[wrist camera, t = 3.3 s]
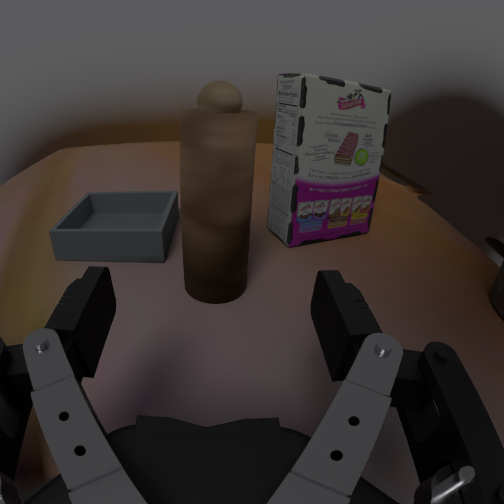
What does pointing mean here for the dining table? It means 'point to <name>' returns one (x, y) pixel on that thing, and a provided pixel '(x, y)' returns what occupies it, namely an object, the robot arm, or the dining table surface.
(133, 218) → the tray
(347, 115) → the candy bar box
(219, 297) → the pepper mill
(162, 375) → the dining table surface
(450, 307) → the dining table surface
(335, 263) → the dining table surface
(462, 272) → the dining table surface
